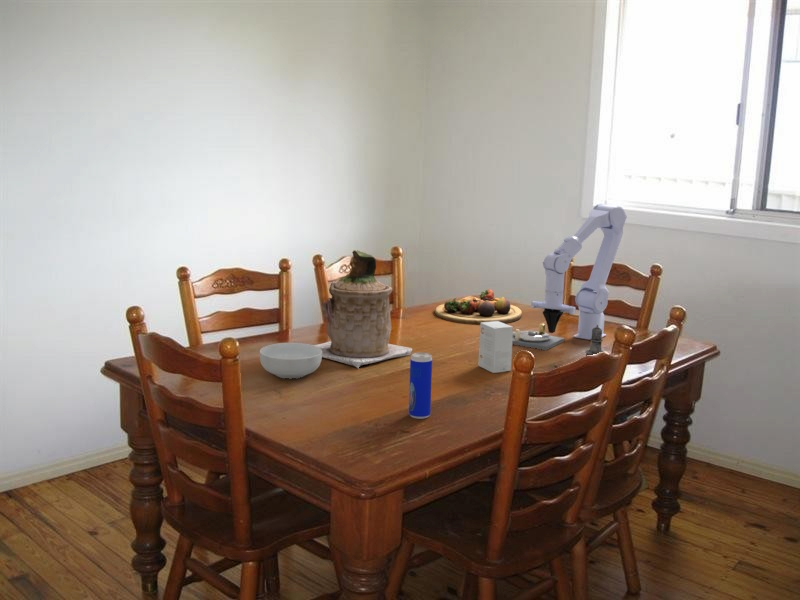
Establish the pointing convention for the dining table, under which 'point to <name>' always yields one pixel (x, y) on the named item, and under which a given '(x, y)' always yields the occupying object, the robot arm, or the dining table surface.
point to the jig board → (539, 345)
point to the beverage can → (420, 385)
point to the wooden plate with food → (479, 309)
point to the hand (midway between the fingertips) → (551, 332)
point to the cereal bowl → (290, 359)
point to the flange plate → (534, 335)
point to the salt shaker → (595, 342)
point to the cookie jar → (359, 317)
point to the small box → (495, 346)
